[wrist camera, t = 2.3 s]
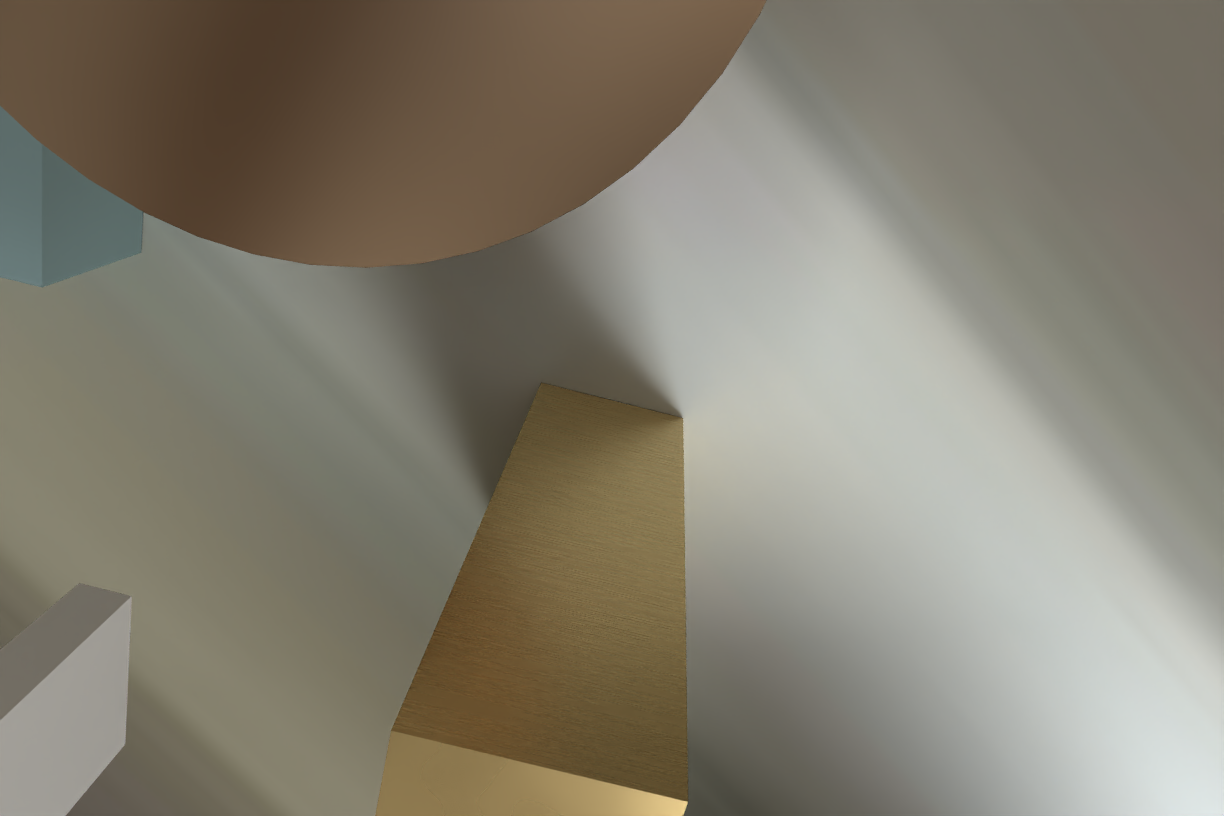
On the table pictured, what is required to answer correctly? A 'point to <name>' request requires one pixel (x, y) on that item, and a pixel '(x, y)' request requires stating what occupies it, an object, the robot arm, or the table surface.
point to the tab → (560, 633)
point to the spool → (360, 111)
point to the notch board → (56, 214)
